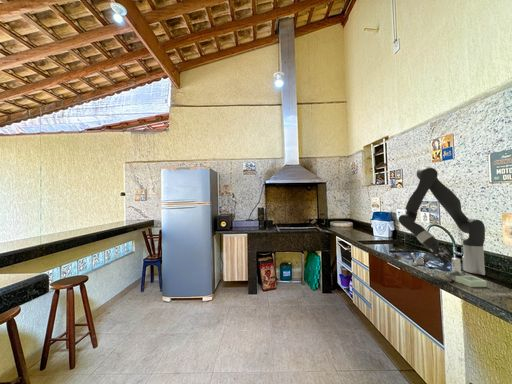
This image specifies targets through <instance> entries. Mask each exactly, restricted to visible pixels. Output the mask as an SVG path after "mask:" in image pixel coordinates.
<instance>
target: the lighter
mask: <svg viewBox="0 0 512 384" xmlns="http://www.w3.org/2000/svg"><path fill="white" fill-rule="evenodd" d="M410 255H411V257H412V259H413V260H415V265H419V266H424V258H423V257H421V256H417V257H416V255H415V253H414V252H410Z"/></svg>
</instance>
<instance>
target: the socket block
mask: <svg viewBox="0 0 512 384" xmlns="http://www.w3.org/2000/svg"><path fill="white" fill-rule="evenodd" d="M462 276H466V275H465V274H462ZM444 277H445V278H448V279H449V280H453V281H454V282H456V279H455V276H453V275H452V272H444Z"/></svg>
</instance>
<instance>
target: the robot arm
mask: <svg viewBox="0 0 512 384" xmlns="http://www.w3.org/2000/svg"><path fill="white" fill-rule="evenodd" d="M438 174H439V173H438V171H437V170H436V168H433V167H430V166H420V167H419V168H418V169H417V171H416V177H417V178H418V180H419V182H418V185H417V187H416V188H415V190H414V192H413V193H412V194H411V195H410V196H409V198H408V201H407V203H406V205H405V210H406V212H405V214H401V215H399V217H398V222H399V223H400V224H401V226H403V227H404V228H405V229H407V230H408V231H409V232H411V234H412V235H413V236H415V238H417V240H418V241H419V243H421V244H422V245H423V246H424V247H425V248H426V250H428V252H430V253H431V255H432V256H434V258H436V259H438V260H440V261H441V262H442V263H443V264H444V265H448V264H450V262H451V263H452V259H451V258H454V257H453V256H452V255H451V254H452V252H451V251H449V250H448V249H447V248H446V247H445V246H444V245H439V244H440V241H439V240H438V239H437V238H436V237H435V236H434V235H432V234H431V233H430V232H429V231H428V230H427V229H426V228H425V227H423V226H422V225H421V224H419V223H417V222H416V220H417V216H418V211H419V210H420V206H422V202H423V200H424V198H425V197H426V194H427V193H428V191H430V192H431V194H432V195H433V196H434V198H435V199H436V200H437V202H438V203H439V204H440V205H441V207H442V208H444V210H445V211H446V213H447V214H448V215H449V216H450V217H451V219H453V222H454V223H455V224H456V226H457V227H458V228H459V231H461V232H463V233H465V234H468V237H467V238H466V239H465V238H464V239H463V240H462V247H463V248H462V249H463V251H462V252H463V256H462V259H461V260H462V270H463V271H464V272H467V273H469V274H475V275H476V274H477V275H482V276H485V275H486V270H485V269H486V268H485V252H484V251H485V250H484V248H485V247H484V243H485V241H486V240H485V239H486V226H485V224H484V221H482V220H481V219H475V218H474V219H473V218H469V217H467V216H466V215H465V214H464V212H463V210H462V203H461V200H460V199H459V198H458V196H457V195H456V194H455V193H454V192H453V191H452V189H451V190H450V188H448V186H446V185H445V184H444V183H442V182H441V181H440V180H439V178H438Z"/></svg>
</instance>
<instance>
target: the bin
mask: <svg viewBox="0 0 512 384" xmlns="http://www.w3.org/2000/svg"><path fill="white" fill-rule="evenodd" d="M455 279H456V281H455V282H457V283H459V284H461V285H464V286H465V287H468V288H482V287H483V288H486V287H488V281H487V280H484V279H482V278H479V277H476V276H473V275H465V276H455Z"/></svg>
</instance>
